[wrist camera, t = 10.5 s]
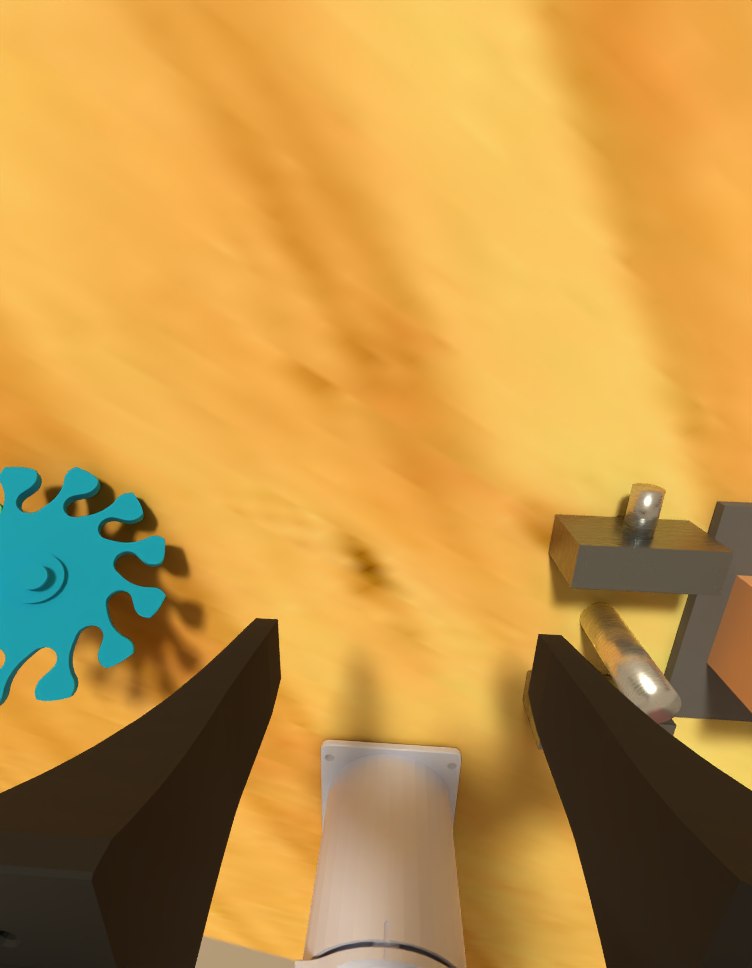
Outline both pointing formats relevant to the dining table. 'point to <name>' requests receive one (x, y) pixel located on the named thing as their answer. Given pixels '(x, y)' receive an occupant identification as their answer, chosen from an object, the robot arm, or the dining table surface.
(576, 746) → the robot arm
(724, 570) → the vise
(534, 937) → the dining table surface
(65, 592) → the gear
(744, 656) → the collar
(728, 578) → the panel
